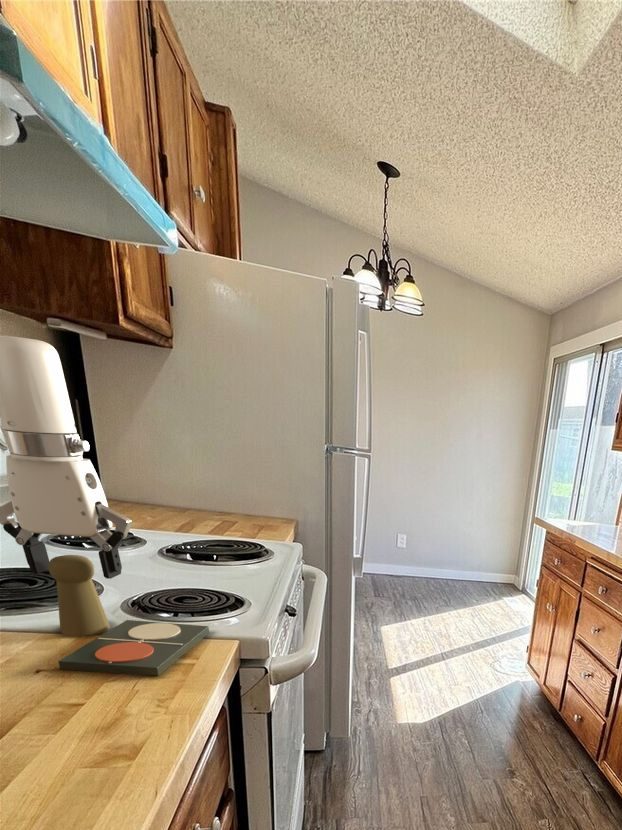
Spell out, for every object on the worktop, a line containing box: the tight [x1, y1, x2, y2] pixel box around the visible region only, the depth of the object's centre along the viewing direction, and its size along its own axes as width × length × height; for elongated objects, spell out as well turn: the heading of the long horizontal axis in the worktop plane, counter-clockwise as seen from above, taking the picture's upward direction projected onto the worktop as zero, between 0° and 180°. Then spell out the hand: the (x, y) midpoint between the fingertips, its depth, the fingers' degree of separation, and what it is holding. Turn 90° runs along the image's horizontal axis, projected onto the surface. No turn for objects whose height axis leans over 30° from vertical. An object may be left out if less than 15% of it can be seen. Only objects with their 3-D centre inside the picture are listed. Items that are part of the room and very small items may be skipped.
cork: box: [48, 554, 111, 637], centre depth 81 cm, size 6×6×11 cm
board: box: [57, 619, 210, 677], centre depth 79 cm, size 12×16×1 cm
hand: (77, 573), depth 80 cm, fingers open, 9 cm apart
